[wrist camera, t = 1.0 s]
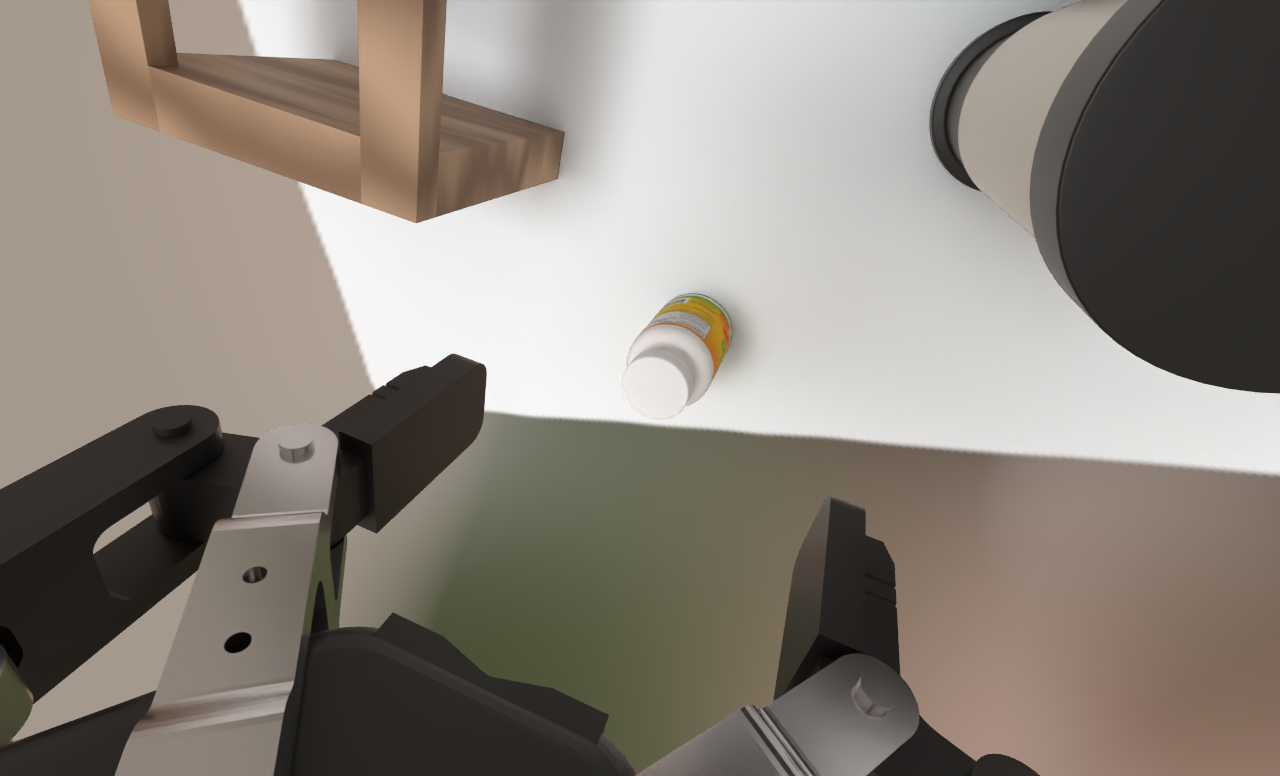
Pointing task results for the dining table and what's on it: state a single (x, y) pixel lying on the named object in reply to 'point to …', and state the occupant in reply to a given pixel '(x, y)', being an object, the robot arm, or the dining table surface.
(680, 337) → the supplement bottle
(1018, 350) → the dining table surface
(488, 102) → the dining table surface
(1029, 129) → the light fixture
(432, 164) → the wooden frame stand
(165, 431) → the robot arm
